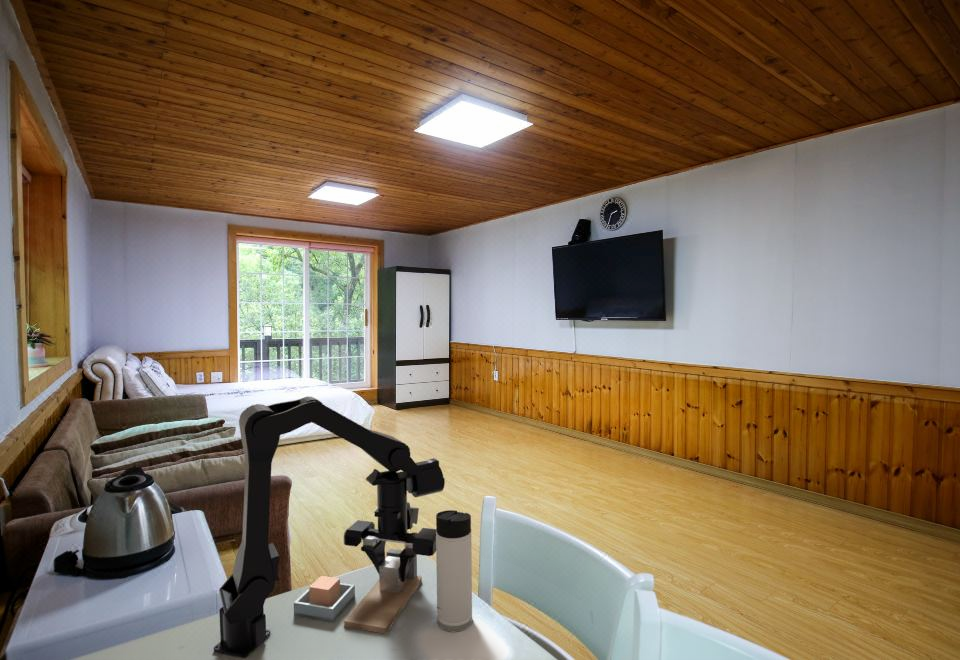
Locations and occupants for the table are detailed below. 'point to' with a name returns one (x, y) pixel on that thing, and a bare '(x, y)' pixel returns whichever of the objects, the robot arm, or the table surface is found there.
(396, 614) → the rail base
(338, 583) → the block
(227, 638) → the robot arm
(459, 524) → the travel mug
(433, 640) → the table surface
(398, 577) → the block
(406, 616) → the table surface
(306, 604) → the tray
